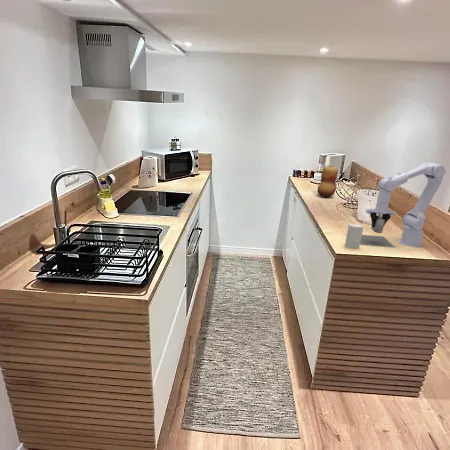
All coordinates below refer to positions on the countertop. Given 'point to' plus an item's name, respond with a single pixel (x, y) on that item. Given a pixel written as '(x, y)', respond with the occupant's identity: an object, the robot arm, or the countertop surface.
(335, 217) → the countertop surface
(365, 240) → the mat
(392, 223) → the countertop surface
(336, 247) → the countertop surface
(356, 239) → the skincare box
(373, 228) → the connector
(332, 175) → the butternut squash
